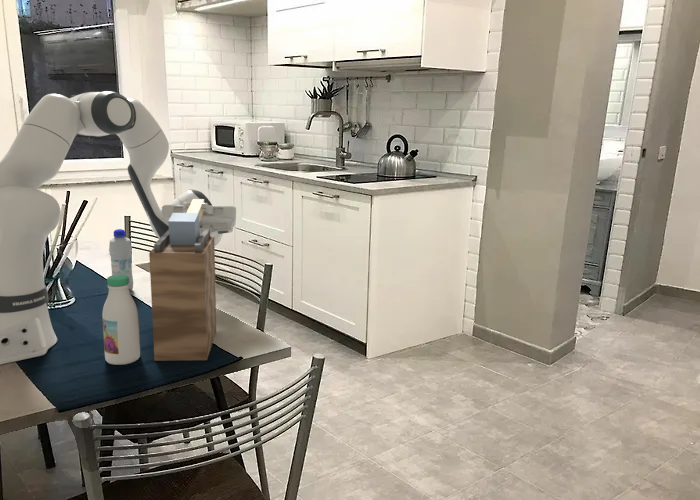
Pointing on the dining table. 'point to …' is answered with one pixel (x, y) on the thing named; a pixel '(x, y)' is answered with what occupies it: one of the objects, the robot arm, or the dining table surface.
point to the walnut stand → (183, 298)
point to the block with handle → (186, 225)
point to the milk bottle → (120, 323)
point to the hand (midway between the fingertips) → (195, 205)
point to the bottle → (121, 256)
